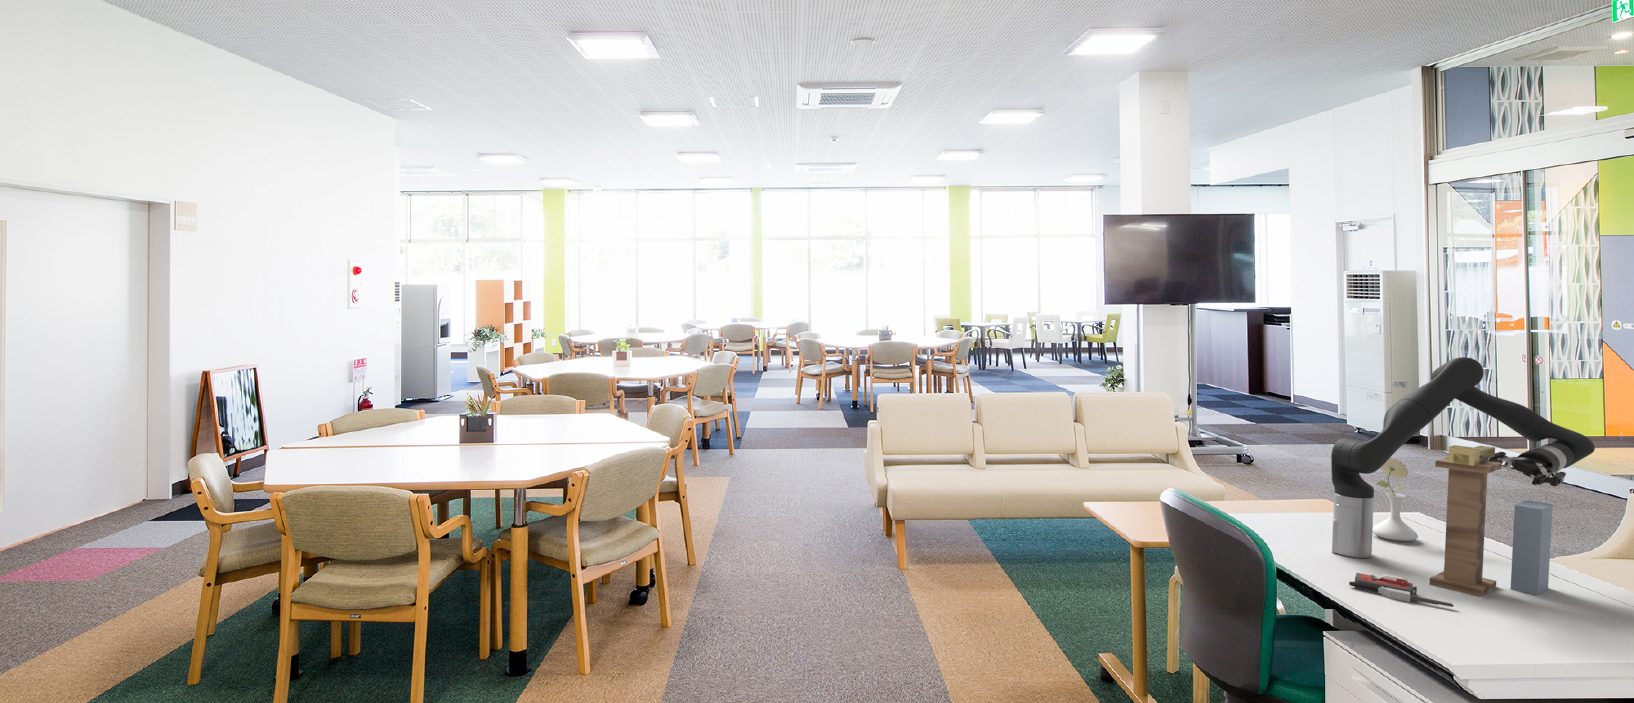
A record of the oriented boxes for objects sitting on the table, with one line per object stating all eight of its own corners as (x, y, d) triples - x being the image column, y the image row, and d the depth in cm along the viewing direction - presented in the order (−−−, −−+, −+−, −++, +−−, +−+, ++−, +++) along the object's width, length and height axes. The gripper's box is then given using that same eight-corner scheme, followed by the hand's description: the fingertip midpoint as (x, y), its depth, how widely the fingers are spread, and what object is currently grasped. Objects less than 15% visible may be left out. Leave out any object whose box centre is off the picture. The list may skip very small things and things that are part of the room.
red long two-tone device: (1347, 591, 182) (1453, 612, 169) (1348, 574, 182) (1454, 594, 169) (1351, 581, 189) (1452, 601, 176) (1351, 565, 189) (1453, 583, 176)
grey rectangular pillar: (1537, 595, 179) (1542, 509, 178) (1510, 588, 183) (1514, 504, 182) (1548, 587, 184) (1552, 504, 183) (1521, 581, 188) (1525, 500, 187)
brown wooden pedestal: (1480, 596, 178) (1486, 462, 176) (1429, 583, 186) (1435, 456, 185) (1496, 586, 185) (1502, 457, 183) (1446, 574, 193) (1451, 451, 191)
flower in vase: (1427, 544, 219) (1431, 462, 217) (1389, 544, 219) (1393, 462, 218) (1394, 531, 232) (1397, 454, 230) (1358, 531, 232) (1361, 454, 231)
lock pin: (1473, 465, 179) (1474, 449, 179) (1448, 462, 183) (1448, 446, 183) (1499, 457, 190) (1500, 442, 189) (1474, 454, 194) (1475, 439, 194)
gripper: (1513, 438, 201) (1484, 449, 194) (1581, 460, 189) (1554, 473, 182) (1504, 462, 203) (1475, 474, 196) (1571, 485, 191) (1543, 499, 184)
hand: (1513, 473), depth 189 cm, fingers open, 8 cm apart
